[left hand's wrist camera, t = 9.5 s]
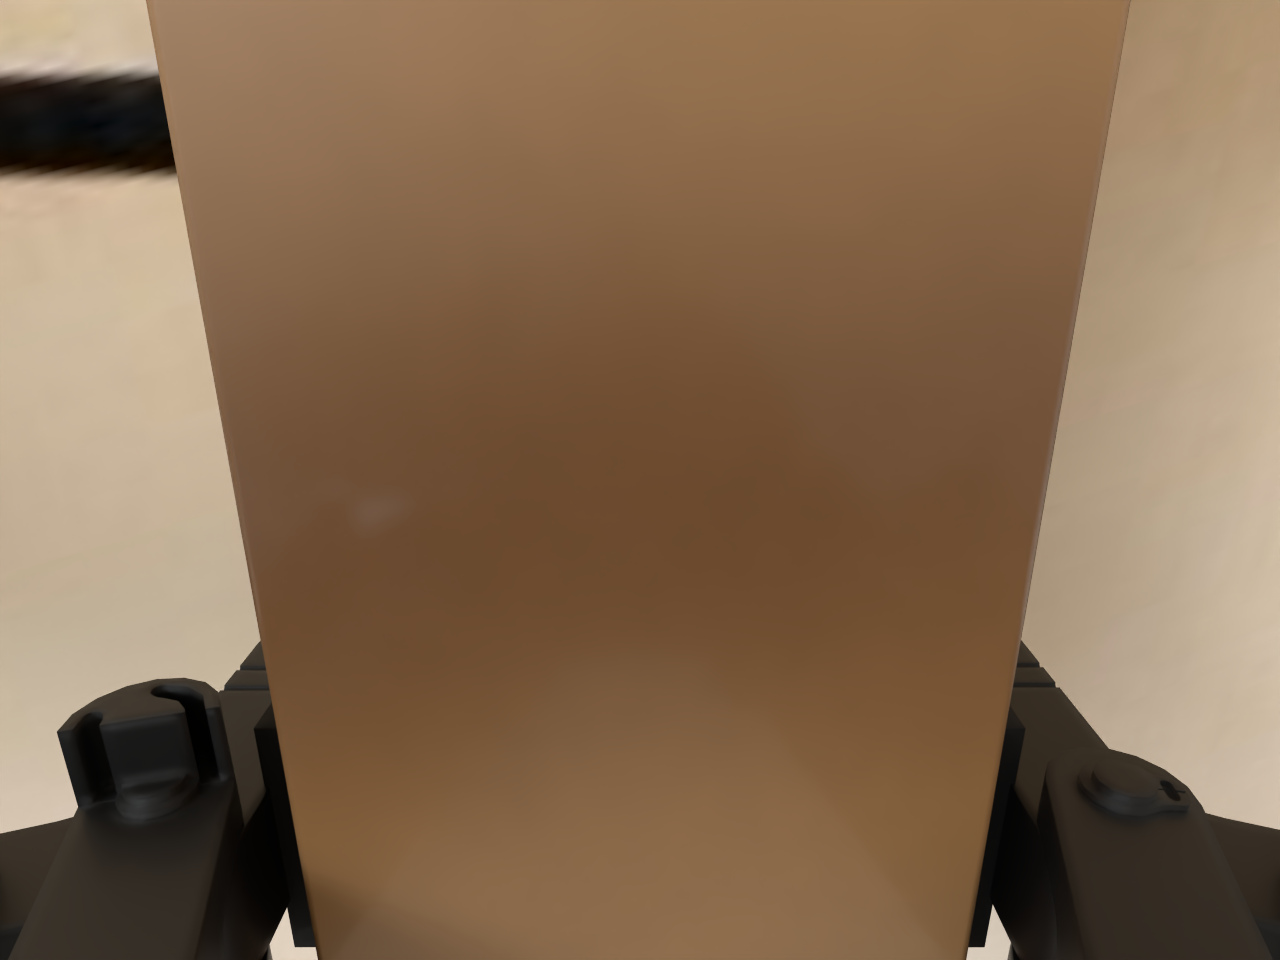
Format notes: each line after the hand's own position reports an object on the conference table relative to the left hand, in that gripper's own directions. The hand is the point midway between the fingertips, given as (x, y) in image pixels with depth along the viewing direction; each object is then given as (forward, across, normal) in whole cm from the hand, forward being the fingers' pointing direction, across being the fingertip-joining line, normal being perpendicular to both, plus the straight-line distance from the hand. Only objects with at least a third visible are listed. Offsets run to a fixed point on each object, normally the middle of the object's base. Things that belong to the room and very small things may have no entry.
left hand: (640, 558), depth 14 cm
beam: (+1, 0, -20) cm, 20 cm away
